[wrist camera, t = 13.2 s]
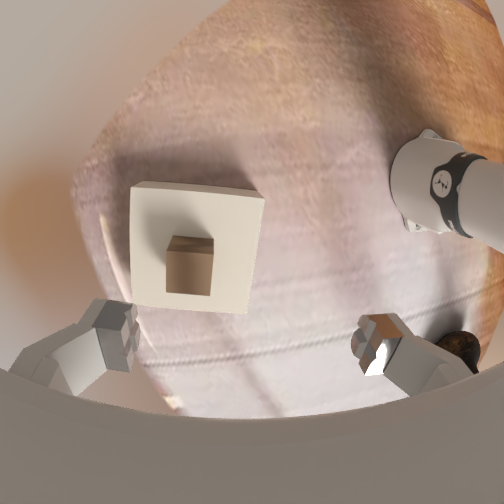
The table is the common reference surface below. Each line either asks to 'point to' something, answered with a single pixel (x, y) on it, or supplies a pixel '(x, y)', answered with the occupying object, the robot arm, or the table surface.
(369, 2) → the table surface
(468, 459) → the robot arm
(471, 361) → the glass bottle
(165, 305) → the plate
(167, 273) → the walnut cube
